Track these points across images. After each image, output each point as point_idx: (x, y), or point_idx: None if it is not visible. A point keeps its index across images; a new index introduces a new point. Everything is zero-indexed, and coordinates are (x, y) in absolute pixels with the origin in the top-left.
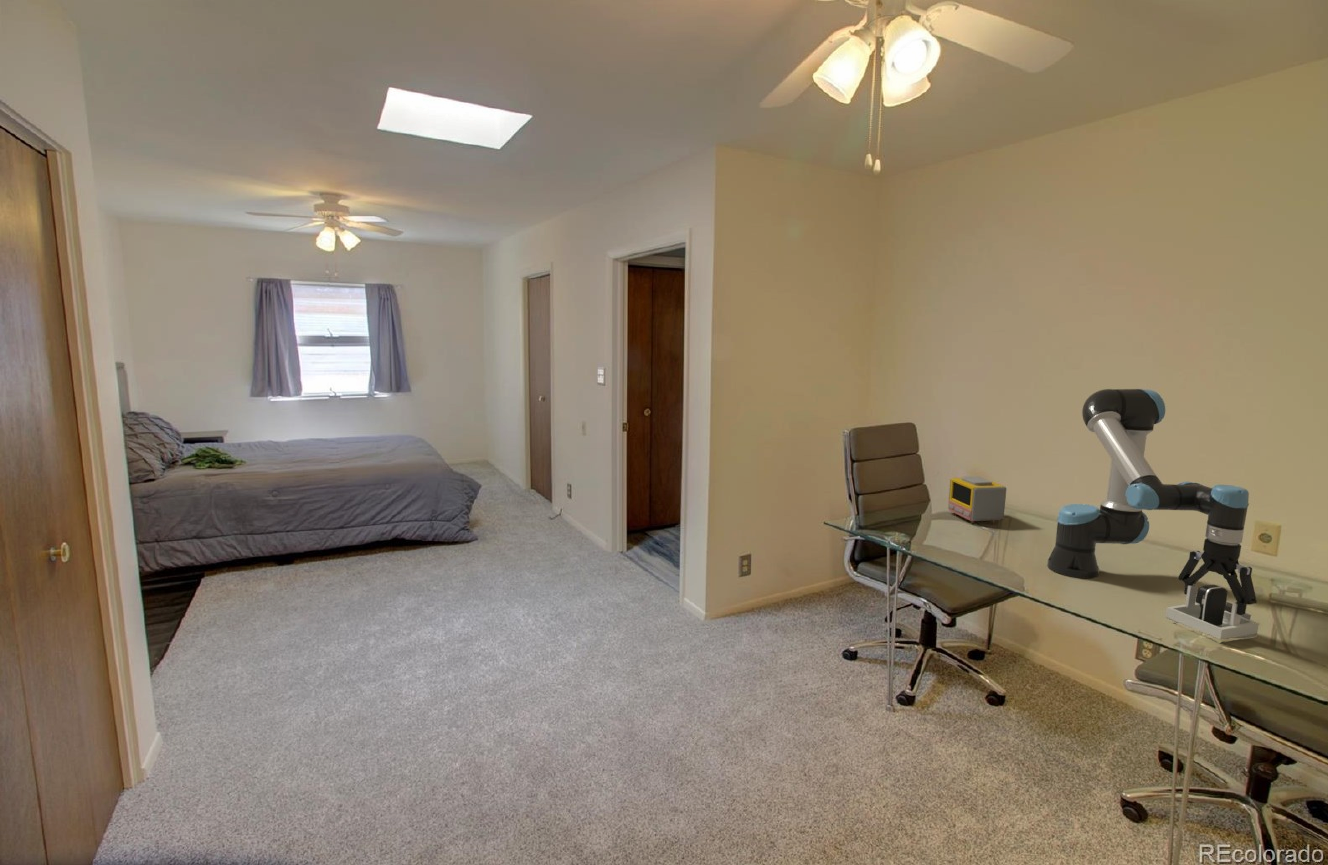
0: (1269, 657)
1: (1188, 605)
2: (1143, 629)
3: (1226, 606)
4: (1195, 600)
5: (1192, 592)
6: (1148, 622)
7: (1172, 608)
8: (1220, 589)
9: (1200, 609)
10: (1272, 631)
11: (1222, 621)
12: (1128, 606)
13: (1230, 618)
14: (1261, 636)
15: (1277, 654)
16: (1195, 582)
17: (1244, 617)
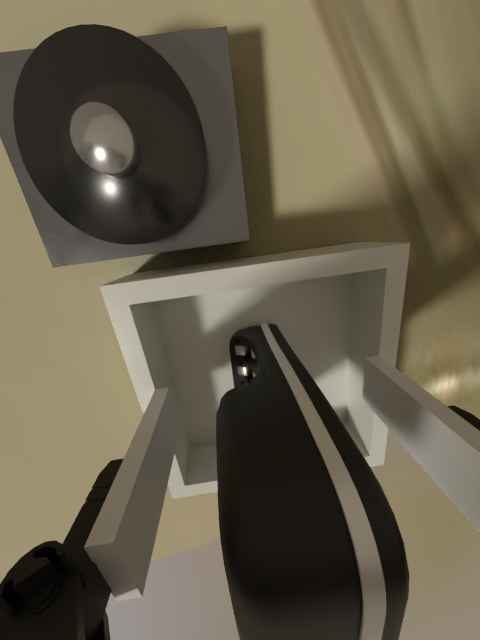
0: (461, 356)
1: (178, 435)
2: None
3: (151, 154)
4: (159, 413)
5: (152, 505)
6: (194, 496)
7: (185, 488)
8: (397, 628)
9: (146, 312)
10: (346, 72)
11: (281, 333)
12: (68, 476)
13: (382, 420)
14: (363, 210)
15: (465, 310)
16: (79, 600)
17: (234, 111)
